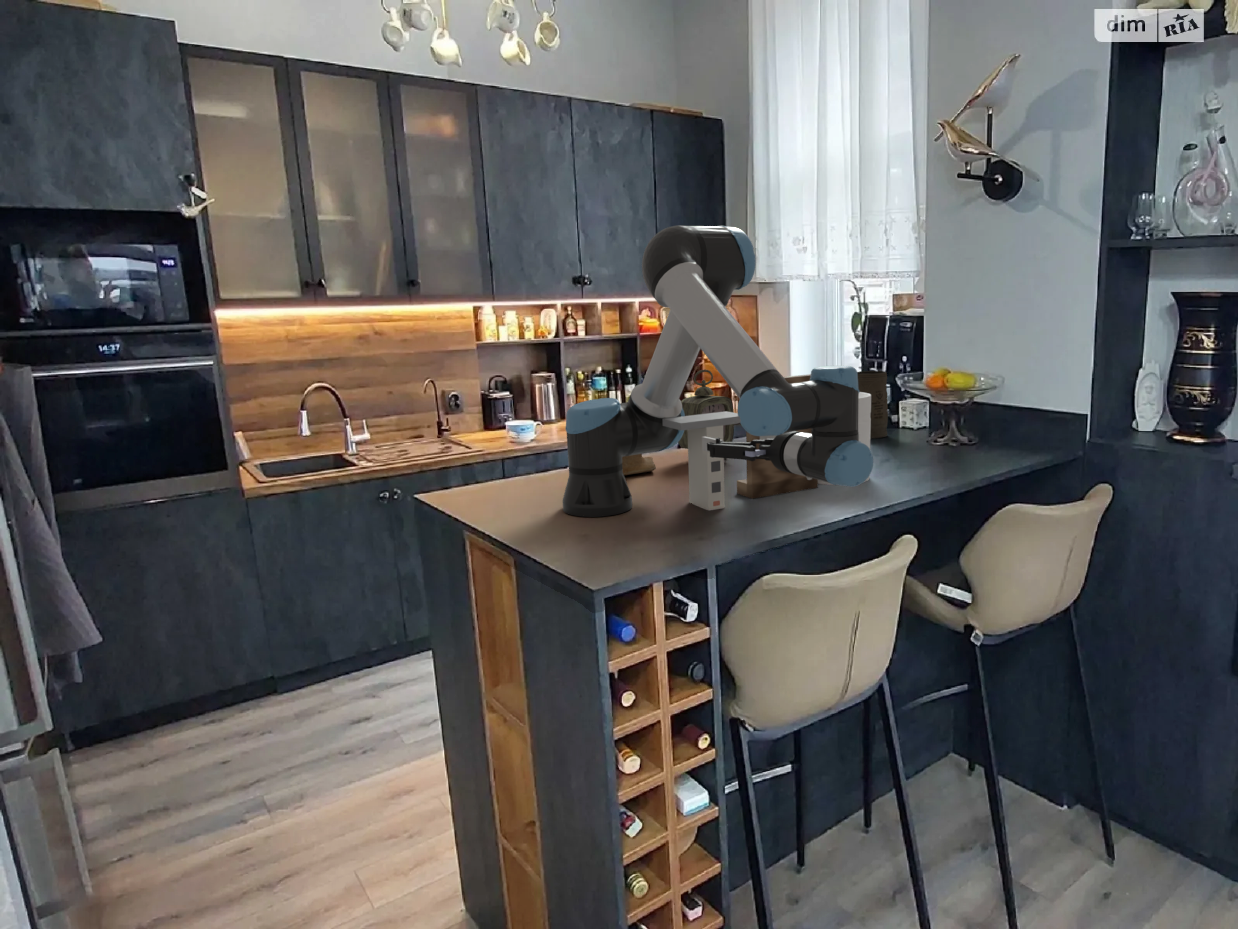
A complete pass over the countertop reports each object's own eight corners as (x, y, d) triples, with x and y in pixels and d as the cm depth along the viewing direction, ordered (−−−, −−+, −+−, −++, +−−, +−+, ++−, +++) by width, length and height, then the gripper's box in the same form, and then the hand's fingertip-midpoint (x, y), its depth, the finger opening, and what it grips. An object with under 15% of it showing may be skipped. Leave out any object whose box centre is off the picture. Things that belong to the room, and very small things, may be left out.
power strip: (683, 516, 167) (681, 423, 163) (665, 507, 174) (662, 418, 170) (748, 504, 173) (747, 415, 169) (728, 497, 180) (726, 411, 177)
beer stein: (896, 435, 244) (895, 369, 241) (871, 440, 239) (869, 372, 236) (858, 433, 257) (856, 370, 254) (834, 437, 252) (831, 373, 249)
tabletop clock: (697, 467, 212) (694, 372, 207) (673, 463, 219) (671, 371, 214) (734, 459, 221) (733, 367, 216) (711, 455, 228) (709, 366, 223)
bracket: (784, 510, 166) (784, 385, 161) (737, 493, 183) (735, 379, 177) (853, 498, 174) (855, 378, 169) (801, 482, 190) (801, 372, 185)
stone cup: (611, 482, 199) (608, 422, 196) (595, 473, 210) (592, 417, 207) (666, 475, 205) (665, 416, 202) (647, 467, 216) (645, 411, 213)
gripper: (740, 483, 138) (679, 465, 157) (854, 465, 148) (784, 450, 167) (738, 440, 136) (677, 427, 155) (854, 424, 146) (783, 414, 165)
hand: (732, 439), depth 161 cm, fingers open, 13 cm apart
